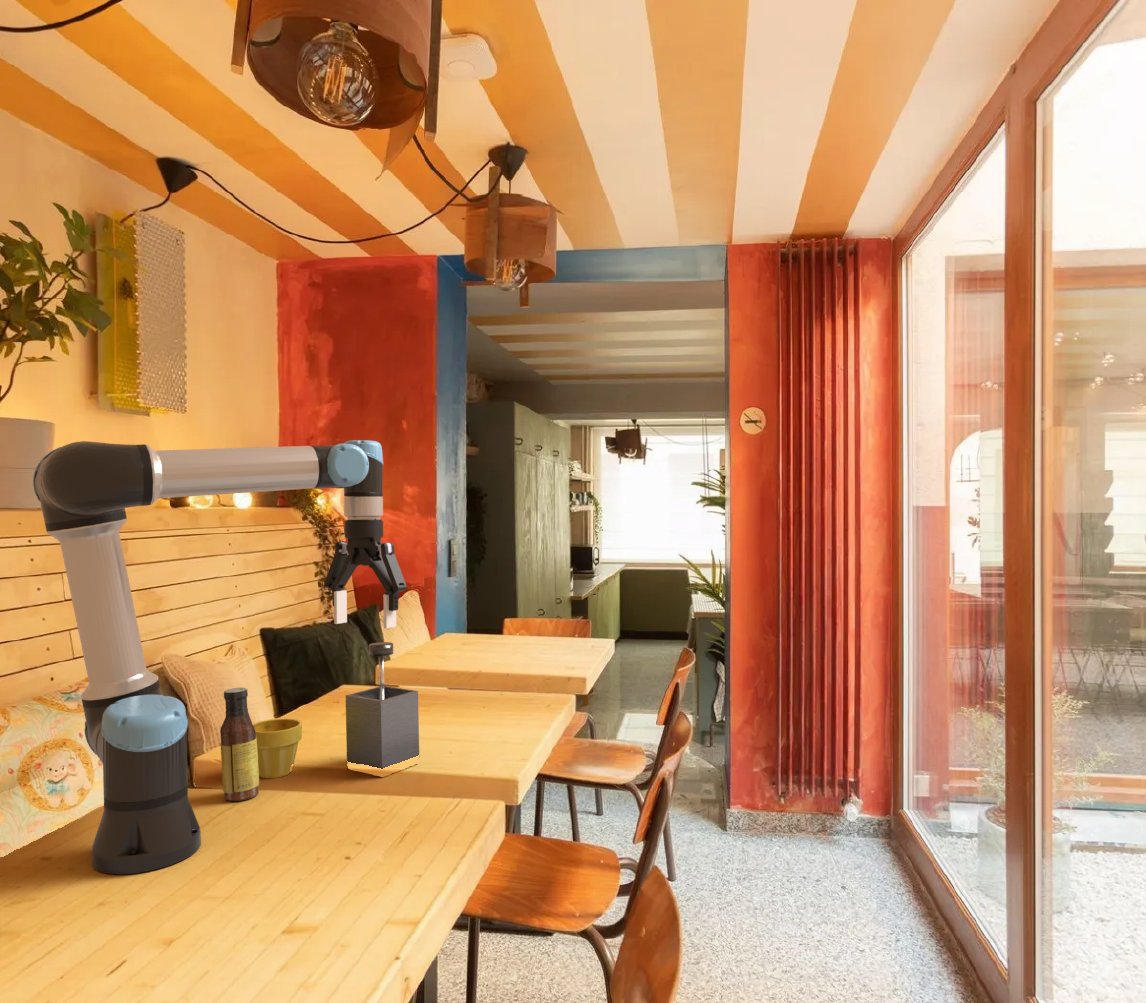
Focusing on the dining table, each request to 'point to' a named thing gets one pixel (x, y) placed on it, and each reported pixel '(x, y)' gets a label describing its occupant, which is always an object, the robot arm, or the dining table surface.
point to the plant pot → (277, 745)
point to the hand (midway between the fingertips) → (364, 625)
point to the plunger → (381, 661)
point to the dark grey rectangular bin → (382, 726)
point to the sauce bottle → (238, 748)
